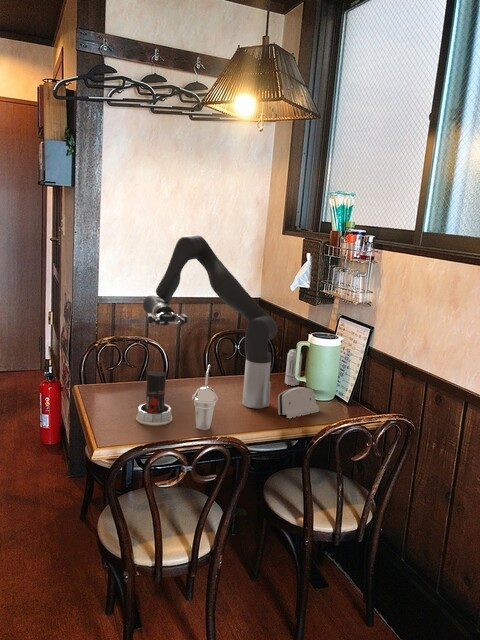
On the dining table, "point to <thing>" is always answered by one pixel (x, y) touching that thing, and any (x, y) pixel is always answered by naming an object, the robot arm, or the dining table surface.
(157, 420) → the silver bowl
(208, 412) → the cup with straw
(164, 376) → the deodorant
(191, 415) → the dining table surface
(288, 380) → the energy drink can
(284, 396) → the hinge
